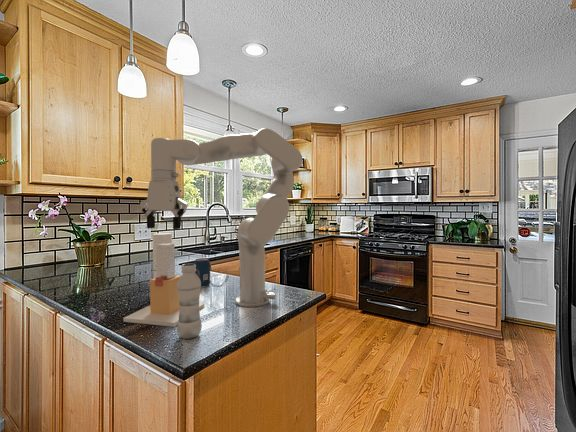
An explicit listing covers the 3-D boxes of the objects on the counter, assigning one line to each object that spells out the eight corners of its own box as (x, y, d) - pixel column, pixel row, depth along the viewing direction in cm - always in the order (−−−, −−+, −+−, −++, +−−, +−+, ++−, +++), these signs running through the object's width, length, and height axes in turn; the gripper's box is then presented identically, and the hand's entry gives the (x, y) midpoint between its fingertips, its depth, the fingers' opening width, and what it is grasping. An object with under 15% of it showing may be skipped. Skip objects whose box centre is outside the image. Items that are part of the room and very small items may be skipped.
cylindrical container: (166, 298, 117) (165, 234, 116) (149, 297, 119) (148, 234, 118) (176, 293, 124) (175, 233, 123) (161, 292, 126) (159, 232, 125)
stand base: (204, 306, 108) (203, 270, 107) (174, 326, 90) (173, 283, 89) (160, 303, 112) (159, 268, 111) (123, 321, 94) (122, 280, 93)
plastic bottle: (172, 341, 80) (171, 267, 80) (184, 330, 87) (183, 262, 86) (194, 342, 79) (193, 267, 79) (205, 332, 86) (204, 263, 85)
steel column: (176, 307, 102) (174, 243, 101) (168, 312, 98) (167, 245, 97) (164, 306, 103) (163, 243, 102) (156, 311, 99) (155, 244, 98)
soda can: (192, 285, 137) (191, 259, 136) (206, 282, 141) (206, 257, 141) (198, 288, 131) (197, 261, 131) (212, 285, 136) (212, 259, 135)
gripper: (193, 177, 101) (193, 228, 101) (148, 178, 105) (148, 227, 105) (180, 175, 93) (180, 230, 94) (132, 176, 97) (133, 228, 98)
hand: (163, 228), depth 99 cm, fingers open, 9 cm apart
